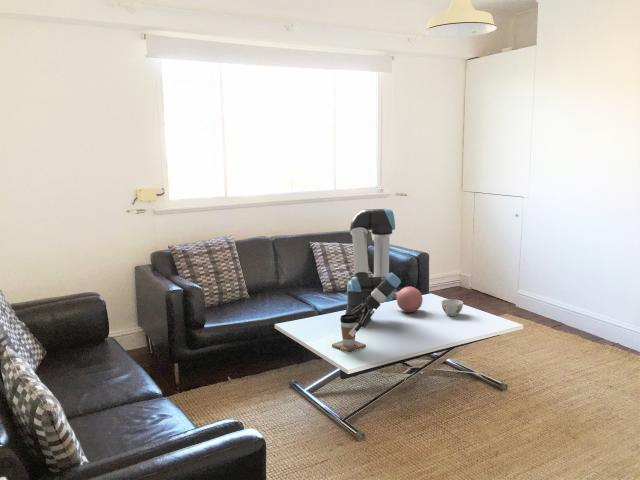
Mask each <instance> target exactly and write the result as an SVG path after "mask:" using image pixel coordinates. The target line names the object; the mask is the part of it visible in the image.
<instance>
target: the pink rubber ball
mask: <svg viewBox="0 0 640 480" xmlns="http://www.w3.org/2000/svg"><path fill="white" fill-rule="evenodd" d="M393 298H395V299H396V303H397V304H396V305H397V306H398V308H400V310H402V311H403V312H406V313H415V312H416V311H418V310H419V309H420V308H421V306H422V304H423V301H424V300H423V295H422V293H421V291H420V290H419V289H418V288H416V287H415V286H414V287H413V286H405V287H402V288H401V289H400V290H399V291H397V292H396V291H394V294H393Z"/></svg>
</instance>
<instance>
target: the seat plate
mask: <svg viewBox="0 0 640 480" xmlns="http://www.w3.org/2000/svg"><path fill="white" fill-rule="evenodd" d="M332 346H333V348H334V347H336V348H335V349H337V348H338V349H337V350H340V349H341V351H342V350H343V352H345V351H346V352H345V353H347V352H350V353H353V352H355V351H358V350H361V349H363V348H366V343H364V342H360V341H359V340H358V341H357V340H355V345H354V346H344V345H343V340H340V341H337V342H335V343H332V344H331V347H332ZM360 348H361V349H360ZM357 349H358V350H357ZM352 351H353V352H352Z"/></svg>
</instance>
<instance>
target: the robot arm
mask: <svg viewBox="0 0 640 480" xmlns="http://www.w3.org/2000/svg"><path fill="white" fill-rule="evenodd" d="M395 230H396V220H395V215H394V212H393V210H392V209H390V208H371V209H369V208H365V209H362V210H360V211H359V212H357V213H356V214H355V215H354V217H353V218H352V220H351V222H350V226H349V233H350V235H351V237H352V253H353V254H352V255H353V275H354V276H353V277H351V278H350V281H348V282H347V283H346V284H347V285H346V286H347V287H346V288H347V289H346V294H347V297H346V300H347V302H346V303H347V305H346V310H345V313H344V315H345V314H355V315H356V317H357V322H356V325H355V326H354V328H353V329H352V330H351V331H350V332H349V334H350V335H351V336H352V337H353V336H354V335H355V334H357V333H358V331H359V330H361V328H366V327H367V325H368V323H369V322H370V321H371V318H372V316H373V315H374V314H375V310H378V308H380V306H381V304H383V303H386V302H391V301H392V300H393V299H394V297H393V294H394V292H395V290H396V289H397V288H398V287H400V284H401V283H402V281H401V279H400V278H399V277H398V276H397V275H396V274H394V273H393V272H390V236H391V235H392V234H393V231H395ZM369 231H371V234H372V235H373V276H370V275H369V272H370V271H369V258H368V245H367V243H368V242H367V234H368V233H369ZM374 309H375V310H374ZM355 336H356V335H355Z"/></svg>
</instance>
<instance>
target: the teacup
mask: <svg viewBox="0 0 640 480" xmlns="http://www.w3.org/2000/svg"><path fill="white" fill-rule="evenodd" d="M440 303H441V308H442V310H443V312H444V313H445V314H446V315H447V316H448V317H457V316H458V315H459V313H461V311H462V310H463V307H464V301H462V300H460V299H444V300H441V302H440Z"/></svg>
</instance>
